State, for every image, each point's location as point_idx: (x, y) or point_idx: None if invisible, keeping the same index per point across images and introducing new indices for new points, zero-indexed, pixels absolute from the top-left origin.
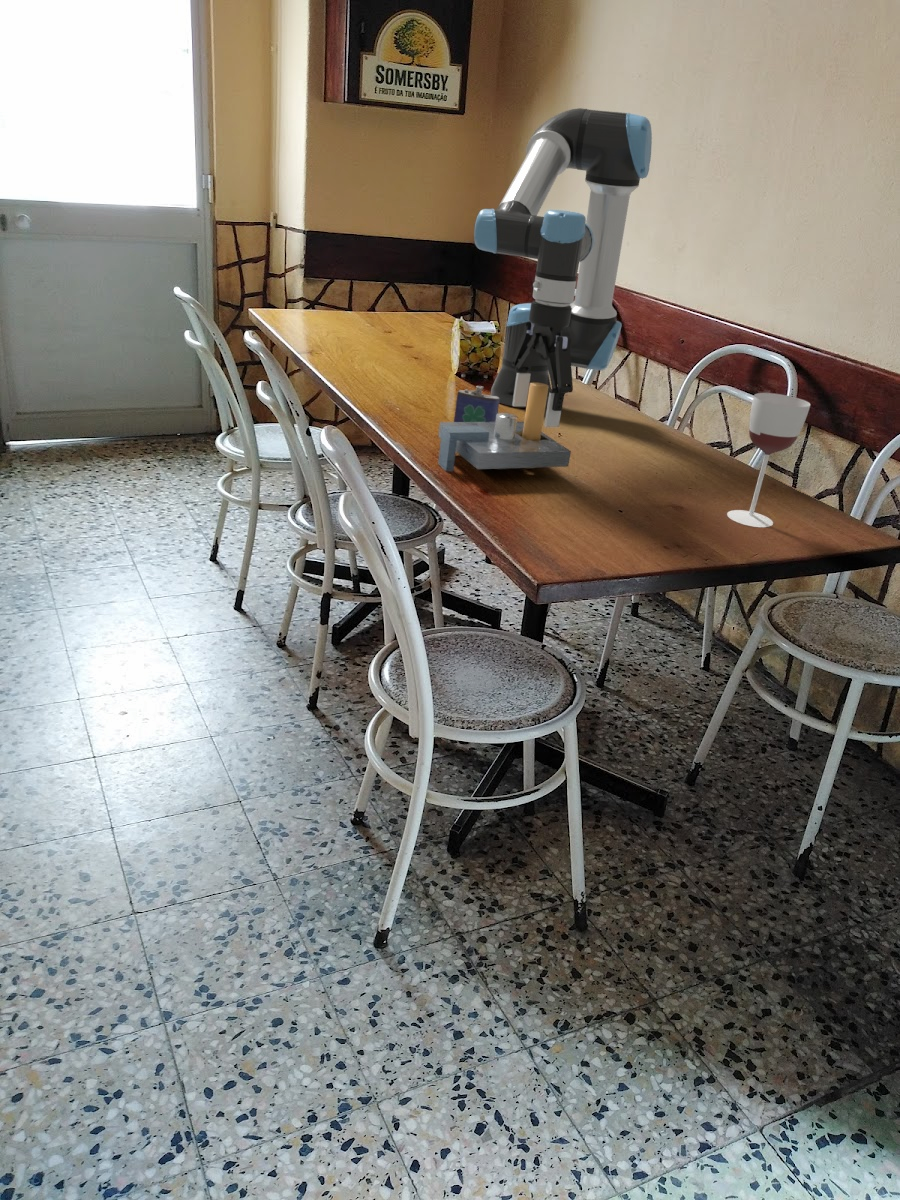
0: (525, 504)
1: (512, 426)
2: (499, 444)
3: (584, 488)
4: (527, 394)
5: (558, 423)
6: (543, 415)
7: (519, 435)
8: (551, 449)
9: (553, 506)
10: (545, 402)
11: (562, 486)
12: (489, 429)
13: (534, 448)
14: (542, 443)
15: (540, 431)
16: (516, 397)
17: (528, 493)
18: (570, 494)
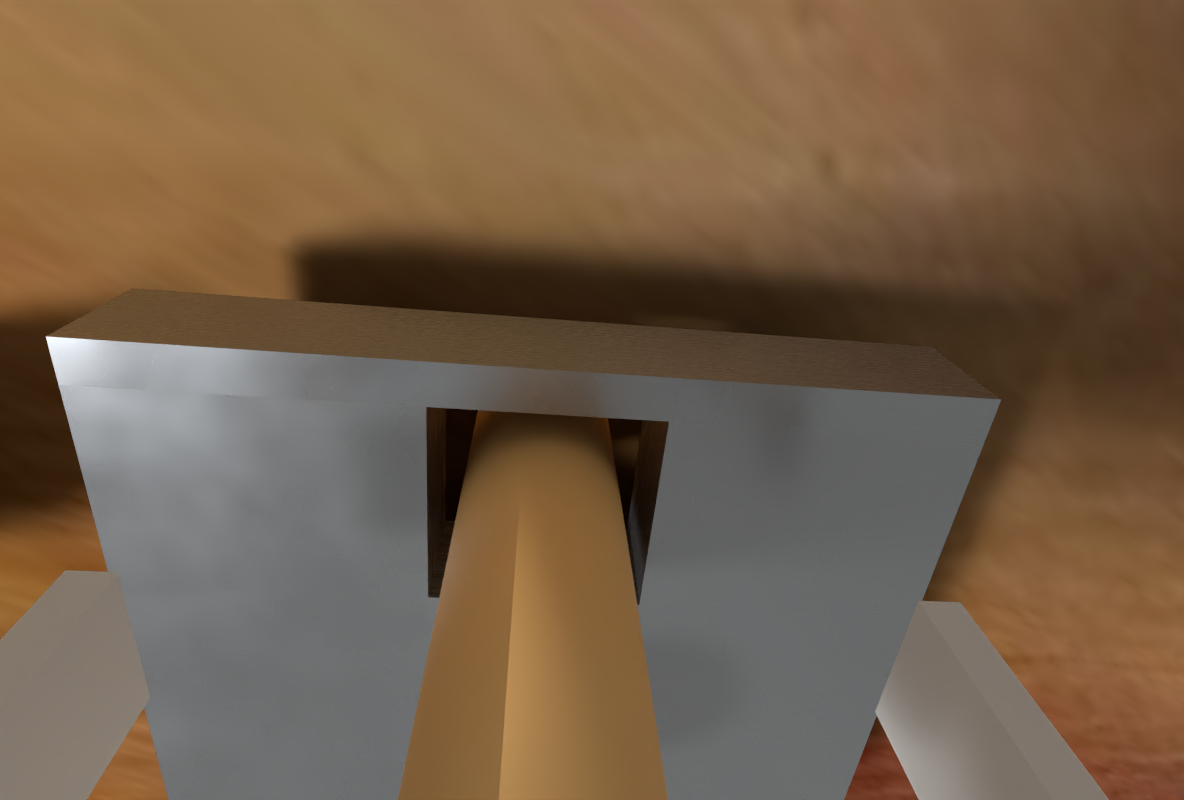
0: (1033, 666)
1: None
2: (690, 789)
3: (1029, 252)
4: (6, 704)
5: (977, 637)
6: (629, 625)
7: (433, 538)
8: (896, 530)
9: (1122, 570)
10: (654, 777)
11: None
12: (352, 727)
13: (832, 635)
14: (748, 526)
15: (619, 518)
16: (83, 786)
17: (935, 598)
18: (1055, 402)
